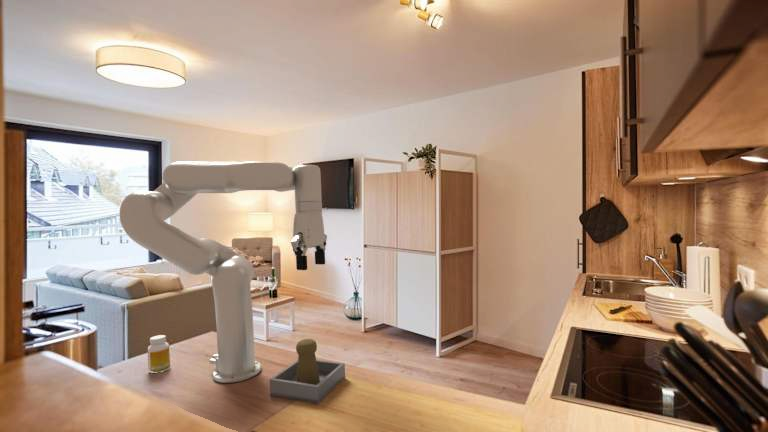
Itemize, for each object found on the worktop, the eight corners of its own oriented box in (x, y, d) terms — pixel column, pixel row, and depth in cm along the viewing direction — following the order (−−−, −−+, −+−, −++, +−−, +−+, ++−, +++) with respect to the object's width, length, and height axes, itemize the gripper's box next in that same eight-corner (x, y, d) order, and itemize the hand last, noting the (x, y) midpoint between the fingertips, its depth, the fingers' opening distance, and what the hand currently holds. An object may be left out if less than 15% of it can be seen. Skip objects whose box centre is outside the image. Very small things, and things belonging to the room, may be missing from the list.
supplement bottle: (174, 368, 111) (172, 335, 110) (154, 375, 106) (152, 341, 106) (164, 364, 114) (162, 332, 113) (145, 371, 109) (143, 338, 109)
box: (270, 395, 92) (269, 379, 92) (301, 371, 105) (300, 357, 105) (318, 404, 88) (317, 387, 87) (345, 378, 100) (344, 363, 100)
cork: (314, 389, 93) (312, 345, 93) (291, 388, 94) (289, 344, 94) (323, 378, 99) (321, 336, 98) (302, 377, 100) (300, 335, 100)
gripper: (313, 207, 119) (316, 262, 119) (279, 209, 103) (282, 272, 103) (334, 207, 116) (337, 262, 116) (303, 208, 100) (306, 272, 100)
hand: (311, 266), depth 110 cm, fingers open, 9 cm apart
